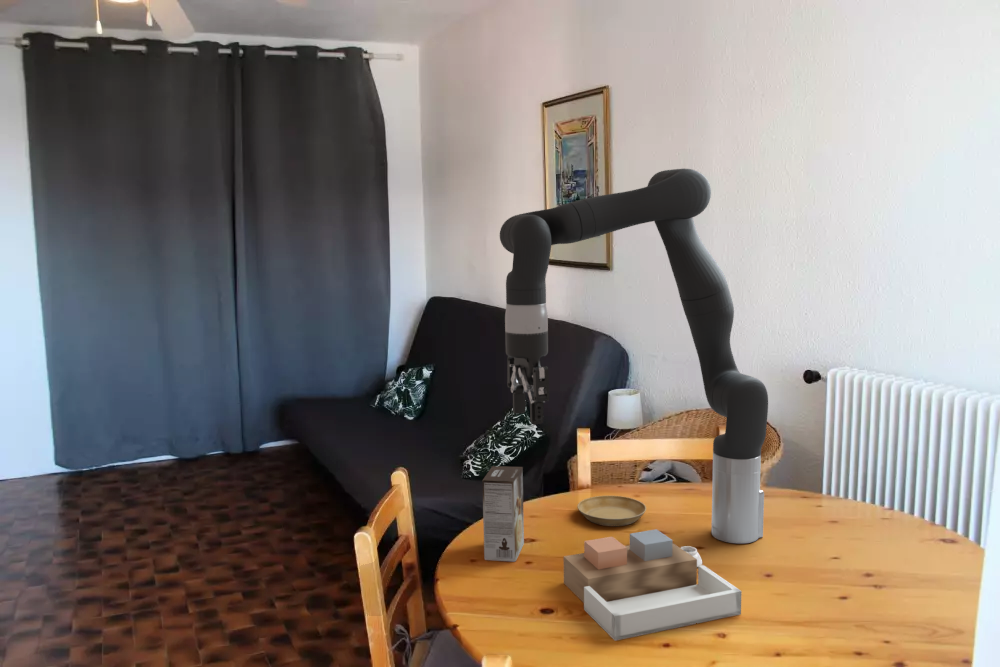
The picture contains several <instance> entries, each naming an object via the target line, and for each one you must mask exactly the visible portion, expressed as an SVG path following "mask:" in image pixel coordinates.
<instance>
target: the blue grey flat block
mask: <svg viewBox="0 0 1000 667" xmlns="http://www.w3.org/2000/svg"><path fill="white" fill-rule="evenodd" d="M673 541H674V540H673V539H672V538H670V537H669V536H667V535H666V534H664V533H663V532H661V531H660V530H659V529H656V528H655V529H650V530H643V531H639V532H632V533H629V545H630V550H631V551H632V552H633V553H635V554H636V555H637V556H639V557H640V558H641V559H643V560H644V561H649V560H654V559H660V558H666V557H671V556H672V543H674V542H673Z"/></svg>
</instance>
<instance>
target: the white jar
mask: <svg viewBox="0 0 1000 667" xmlns="http://www.w3.org/2000/svg"><path fill="white" fill-rule="evenodd" d="M680 548H681V549H682V550H684V551H685V552H687V553H688V554H690V555H691V556H693V557H694V558H696V559H697V568H698V566H701V565H703V560H702V557H701V555H700V553H699V552H698V549H697V548H696V547H694V546H690V545H687V546H686V545H685V546H680Z"/></svg>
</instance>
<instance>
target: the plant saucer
mask: <svg viewBox="0 0 1000 667" xmlns="http://www.w3.org/2000/svg"><path fill="white" fill-rule="evenodd" d="M577 509H578V511H579V512H580V513H581V515H582V516H583V517H584V518H586V519H587V520H588V521H589V522H591V523H593V524H595V525H600V526H604V527H605V526H606V527H622V526H628V525H632V524H634V523H635V522H637V520H640V518H641V517H642V516H644V514H645V512H646V511H647V506H646V504H645V503H643V501H642V502H641V501H640V500H638V499H635V498H633V497H632V498H631V497H628V496H622V495H598V496H592V497H588V498H584V499H582V500H580V501H579V503H578V504H577Z"/></svg>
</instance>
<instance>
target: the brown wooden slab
mask: <svg viewBox="0 0 1000 667" xmlns="http://www.w3.org/2000/svg"><path fill="white" fill-rule="evenodd" d="M624 546H625V547H627V564H626V565H621V566H615V567H609V568H604V569H597V568H596V567H595V566H594V565H593V564H592V563H590V562H589V561H588V560H587V559H586V558H585V557H584V552H582V553H575V554H570V555H564V556H563V584H564V585H565V586H566V587H567V588H568V589H569V590H570V591H571V592H572V593H573V594H574V596H576V597H577V598H578V599H579V600H580V601H581V602H582V603H583V604H584V587H586V586H590V587H591V588H592V589H593V590H594V591H595V592H597V593H598V594H599V595H600V596H601V597H602V598H603V599H604V600H605V601H606V602H609V601H614V600H619V599H624V598H630V597H635V596H640V595H645V594H651V593H656V592H661V591H666V590H671V589H677V588H682V587H687V586H692V585H697V584H698V577H697V576H698V574H697V573H698V570H697V569H698V567H697V559H696V558H694V557H693V556H691V555H690V554H688V553H687V552H685V551H684V550H682V549H681V547H679V546H678V545H677V544H675V543H674V542H673V543H672V556H671V557H666V558H660V559H654V560H649V561H644V560H643V559H641V558H640V557H639V556H637V555H636V554H635V553H633V552H632V551H631V550H630V544H629V545H624Z"/></svg>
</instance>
